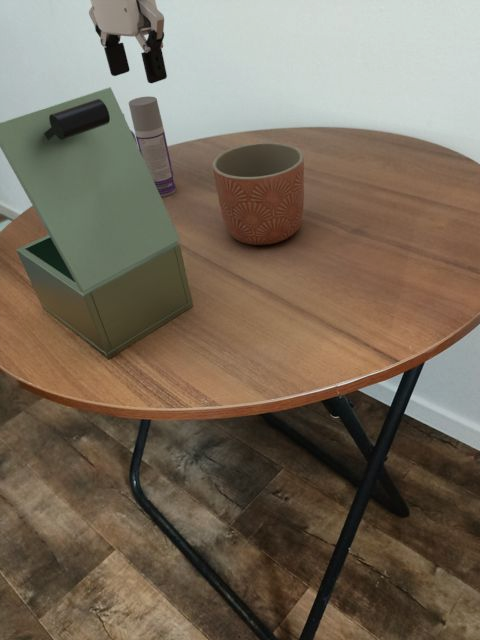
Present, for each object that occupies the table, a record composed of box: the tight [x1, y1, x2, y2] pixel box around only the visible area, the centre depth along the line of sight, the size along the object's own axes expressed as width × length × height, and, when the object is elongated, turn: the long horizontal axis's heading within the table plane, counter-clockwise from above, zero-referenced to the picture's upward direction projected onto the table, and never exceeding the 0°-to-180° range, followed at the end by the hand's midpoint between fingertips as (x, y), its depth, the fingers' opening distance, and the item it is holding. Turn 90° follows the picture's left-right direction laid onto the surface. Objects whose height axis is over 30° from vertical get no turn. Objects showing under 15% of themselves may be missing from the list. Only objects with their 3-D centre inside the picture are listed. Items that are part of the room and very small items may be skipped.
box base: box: [15, 233, 194, 360], centre depth 63 cm, size 16×13×9 cm
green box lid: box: [0, 87, 181, 292], centre depth 51 cm, size 16×13×6 cm
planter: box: [211, 141, 305, 246], centre depth 74 cm, size 12×12×11 cm
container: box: [128, 95, 177, 198], centre depth 87 cm, size 5×5×15 cm
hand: (138, 77), depth 79 cm, fingers open, 9 cm apart
